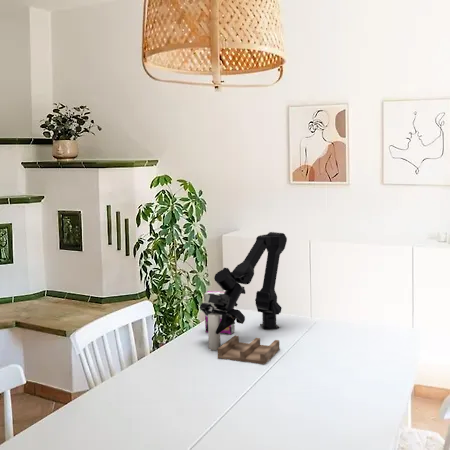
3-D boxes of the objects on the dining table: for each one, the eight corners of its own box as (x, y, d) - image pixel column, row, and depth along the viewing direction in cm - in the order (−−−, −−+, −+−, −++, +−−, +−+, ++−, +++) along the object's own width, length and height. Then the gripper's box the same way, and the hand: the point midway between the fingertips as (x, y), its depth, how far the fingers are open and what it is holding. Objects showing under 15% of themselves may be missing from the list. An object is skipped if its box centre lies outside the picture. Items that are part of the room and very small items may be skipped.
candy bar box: (235, 331, 247) (234, 291, 244) (231, 334, 242) (230, 294, 240) (208, 329, 250) (207, 290, 248) (204, 333, 245) (203, 293, 243)
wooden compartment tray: (234, 344, 230) (234, 335, 230) (279, 349, 223) (279, 340, 223) (217, 358, 216) (217, 348, 215) (264, 364, 209) (264, 354, 208)
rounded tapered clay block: (207, 347, 228) (206, 313, 226) (219, 346, 229) (218, 312, 227) (209, 351, 224) (208, 316, 222) (221, 349, 224) (220, 315, 223)
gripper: (202, 282, 232) (182, 316, 225) (239, 288, 220) (219, 325, 213) (216, 297, 239) (197, 331, 232) (253, 305, 227) (234, 341, 220)
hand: (211, 332), depth 224 cm, fingers closed on rounded tapered clay block, 4 cm apart
